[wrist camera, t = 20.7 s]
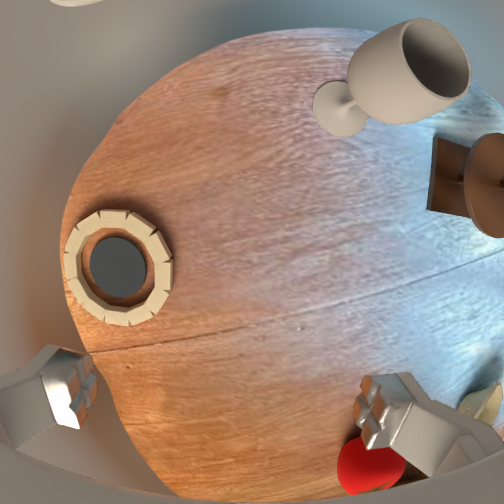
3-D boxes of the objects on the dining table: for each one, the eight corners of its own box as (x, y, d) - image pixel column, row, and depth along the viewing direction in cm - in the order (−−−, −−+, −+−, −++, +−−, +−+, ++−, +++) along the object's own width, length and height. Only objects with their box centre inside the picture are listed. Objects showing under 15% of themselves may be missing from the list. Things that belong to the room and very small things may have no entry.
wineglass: (298, 101, 34) (361, 31, 14) (343, 69, 33) (431, -5, 13) (337, 150, 36) (438, 135, 15) (380, 117, 35) (494, 85, 14)
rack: (426, 126, 35) (502, 115, 20) (487, 147, 36) (560, 150, 21) (417, 217, 38) (491, 243, 23) (478, 228, 39) (549, 253, 24)
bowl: (493, 399, 49) (515, 423, 40) (446, 434, 51) (465, 463, 41) (492, 358, 46) (520, 384, 36) (439, 399, 47) (463, 431, 37)
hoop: (67, 207, 36) (61, 208, 34) (175, 212, 37) (172, 214, 35) (74, 312, 40) (69, 316, 38) (172, 325, 41) (170, 331, 39)
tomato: (371, 413, 46) (394, 459, 35) (401, 439, 49) (422, 478, 38) (315, 450, 48) (328, 498, 37) (352, 471, 51) (366, 512, 40)
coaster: (90, 234, 37) (88, 235, 36) (147, 238, 38) (145, 239, 37) (93, 292, 39) (91, 293, 38) (147, 298, 39) (146, 300, 39)
